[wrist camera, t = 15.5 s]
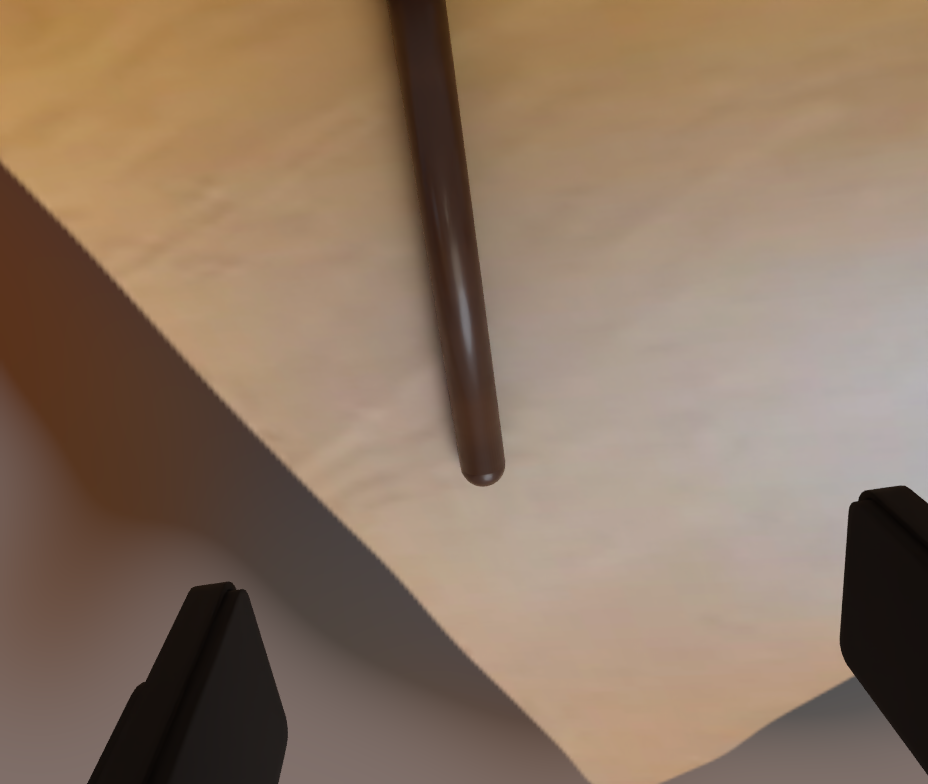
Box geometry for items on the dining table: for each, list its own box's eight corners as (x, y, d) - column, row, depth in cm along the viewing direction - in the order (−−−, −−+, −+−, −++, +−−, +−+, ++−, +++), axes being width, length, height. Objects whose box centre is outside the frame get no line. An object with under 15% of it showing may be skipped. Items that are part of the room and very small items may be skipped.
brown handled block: (310, -238, 19) (311, -39, 13) (452, -259, 19) (526, -71, 13) (416, 296, 36) (440, 501, 30) (492, 285, 36) (533, 486, 30)
